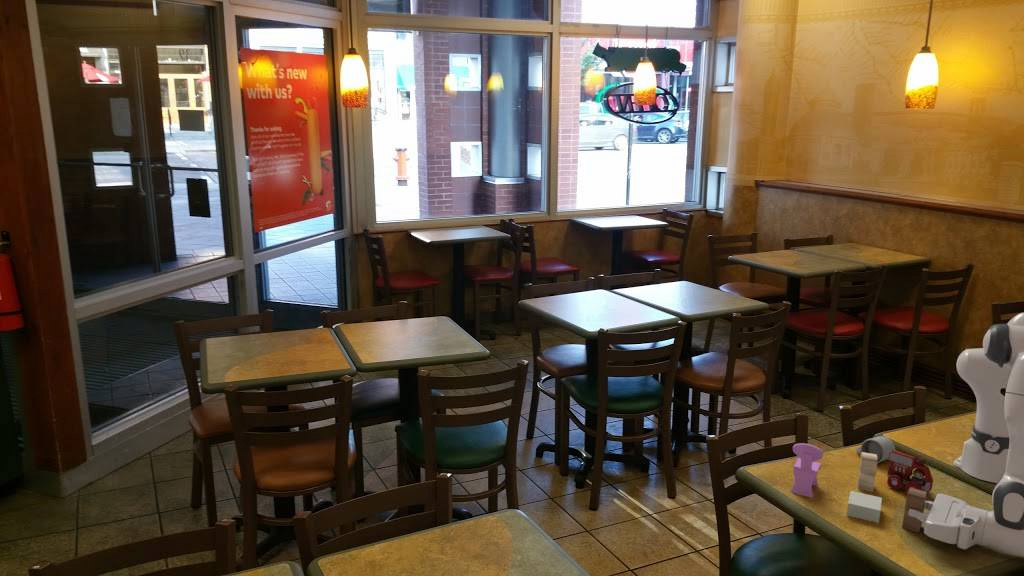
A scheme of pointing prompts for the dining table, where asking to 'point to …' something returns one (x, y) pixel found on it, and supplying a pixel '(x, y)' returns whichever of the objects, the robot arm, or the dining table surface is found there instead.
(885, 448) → the ceramic mug
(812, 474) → the toy chair
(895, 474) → the toy fire truck
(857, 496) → the pedestal block
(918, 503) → the walnut block
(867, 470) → the maple block
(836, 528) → the dining table surface
